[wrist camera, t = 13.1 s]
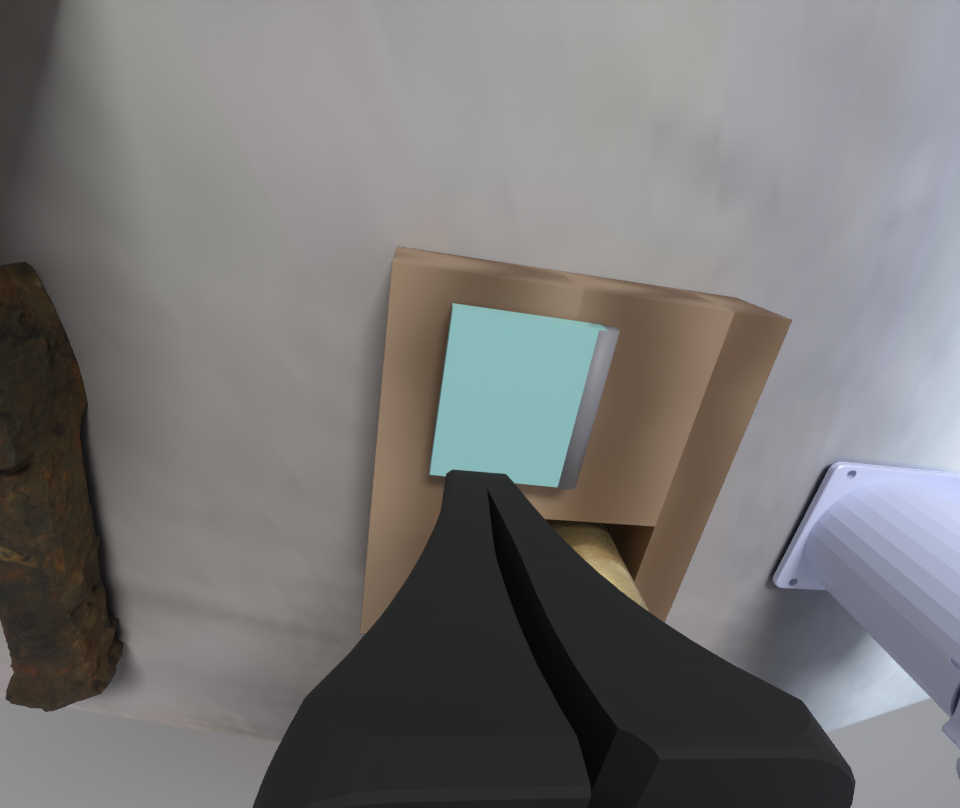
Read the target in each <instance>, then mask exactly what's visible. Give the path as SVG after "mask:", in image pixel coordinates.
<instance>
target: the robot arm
mask: <svg viewBox="0 0 960 808" xmlns="http://www.w3.org/2000/svg"><path fill="white" fill-rule="evenodd" d="M772 580H773V582H774V584H775V585H776V586H777V587H779V588H791V589H812V590H827V591H828V592H829V593H830V594H831V595H832V596H833V597H834V598H835V599H836V600H837V601H838V602H839V603H840V604H841V606H842V607H843V608H844V609H845V610H846V611H847V612H848V613H849V614H850V615H851V616H852V617H853V618H854V619H855V620H856V621H857V622H858V623H859V624H860V625H861V626H862V627H863V628H864V629H865V630H866V631H867V632H868V633H869V634H870V635H871V637H872V638H873V639H874V640H875V641H876V642H877V643H878V644H879V645H880V646H881V647H882V648H883V649H884V650H885V651H886V652H887V653H888V654H889V655H890V656H891V657H892V658H893V659H894V660H895V661H896V662H897V663H898V664H899V665H900V666H901V667H902V669H903V670H904V671H905V672H906V673H907V674H908V675H909V676H910V677H911V678H912V679H913V680H914V681H915V682H916V683H917V684H918V685H919V686H920V687H921V688H922V689H923V690H924V691H925V692H926V693H927V694H928V695H929V696H930V697H931V698H932V699H933V701H934V702H936V704H937V705H938V706H939V707H940V708H941V709H942V710H943V711H944V712H945V713H946V714H947V715H948V716H949V717H950V719H949V721H948V722H947V723H946V724H944V725H943V726H942V731H944V733H945V734H946V735H947V736H948V737H949V738H950V739H951V740H952V741H953V742H954V744H956V746H957V747H958V748H959V749H960V473H953V472H943V471H932V470H922V469H912V468H901V467H891V466H881V465H870V464H860V463H850V462H837V463H834V464H833V465H832V466H830V468H829V469H828V471H827V473H826V475H825V477H824V479H823V481H822V483H821V485H820V487H819V489H818V491H817V492H816V494H815V496H814V498H813V500H812V502H811V504H810V506H809V508H808V510H807V512H806V514H805V516H804V518H803V520H802V522H801V523H800V525H799V527H798V529H797V531H796V533H795V535H794V537H793V539H792V541H791V543H790V545H789V547H788V549H787V551H786V553H785V554H784V556H783V558H782V560H781V562H780V564H779V566H778V568H777V570H776V572H775V574H774V576H773V579H772ZM956 770H957V773H958V777H959V779H960V757H959V758H958V760H957V762H956ZM854 788H855V779H854V776H853V773H852V770H851V768H850V766H849V765H848V764H847V762H846V761H845V759H844V758H843V757H842V755H841V754H840V752H839V751H838V750H837V748H836V747H835V745H834V744H833V743H832V741H831V740H830V738H829V737H828V736H827V734H826V733H825V732H824V730H823V729H822V727H821V726H820V725H819V723H818V722H817V720H816V719H815V718H814V716H813V715H812V713H811V712H810V711H809V709H808V708H807V707H806V705H805V704H804V703H803V701H801V700H800V699H798V698H796V697H794V696H792V695H790V694H788V693H786V692H784V691H782V690H780V689H778V688H776V687H774V686H773V685H771V684H769V683H767V682H765V681H763V680H761V679H759V678H757V677H755V676H753V675H751V674H749V673H748V672H746V671H744V670H742V669H740V668H738V667H736V666H734V665H732V664H731V663H729V662H727V661H725V660H724V659H722V658H720V657H719V656H717V655H715V654H714V653H712V652H710V651H709V650H707V649H705V648H703V647H702V646H700V645H698V644H697V643H695V642H693V641H692V640H690V639H689V638H687V637H686V636H684V635H682V634H681V633H679V632H678V631H676V630H675V629H673V628H672V627H670V626H669V625H667V624H666V623H664V622H663V621H661V620H660V619H659V618H657V617H656V616H654V615H653V614H651V613H650V612H649V611H647V610H646V609H644V608H643V607H641V606H640V605H639V604H637V603H636V602H635V601H633V600H632V599H631V598H629V597H628V596H627V595H625V594H624V593H623V592H622V591H620V590H619V589H618V588H617V587H616V586H614V585H613V584H612V583H611V582H610V581H608V580H607V579H606V578H605V577H604V576H602V575H601V574H600V573H599V572H597V571H596V570H595V569H594V568H593V567H592V566H591V565H590V564H589V563H587V562H586V561H585V560H584V559H583V558H582V557H581V556H580V555H579V554H578V553H577V552H576V551H575V550H574V549H573V548H572V547H571V546H570V545H569V544H568V543H567V542H566V541H565V540H564V539H563V538H562V537H561V536H560V535H559V534H558V533H557V532H556V531H555V530H554V529H553V528H552V527H551V525H550V524H549V523H548V522H547V521H546V520H545V519H544V518H543V517H542V515H541V514H540V513H539V512H538V511H537V510H536V509H535V507H534V506H533V505H532V504H531V503H530V502H529V500H528V499H527V498H526V497H525V496H524V494H523V493H522V492H521V491H520V490H519V488H518V487H517V486H516V485H515V484H514V482H513V481H512V480H511V479H510V478H509V477H508V475H507V474H502V473H489V472H477V471H465V470H453V469H452V470H451V471H449V472H448V473H446V479H445V485H444V492H443V498H442V504H441V511H440V514H439V516H438V519H437V522H436V524H435V527H434V529H433V531H432V533H431V535H430V537H429V540H428V542H427V544H426V546H425V548H424V550H423V552H422V554H421V556H420V557H419V559H418V561H417V563H416V565H415V566H414V568H413V570H412V571H411V573H410V575H409V576H408V578H407V579H406V581H405V583H404V584H403V585H402V587H401V588H400V590H399V591H398V593H397V594H396V596H395V597H394V599H393V600H392V601H391V603H390V604H389V606H388V607H387V608H386V610H385V611H384V612H383V614H382V615H381V616H380V617H379V619H378V620H377V621H376V622H375V623H374V625H373V626H372V627H371V628H370V629H369V631H368V632H367V633H366V634H365V635H364V637H363V638H362V639H361V640H360V641H359V642H358V644H357V645H356V646H355V647H354V648H353V650H352V651H351V652H350V653H349V654H348V655H347V656H346V657H345V658H344V659H343V660H342V661H341V662H340V663H339V664H338V665H337V666H336V667H335V668H334V669H333V670H332V671H331V672H330V673H329V674H328V675H327V676H326V677H325V678H324V679H323V680H322V681H321V682H320V683H319V684H318V685H317V686H316V687H315V688H314V689H313V690H312V691H311V692H310V693H309V694H308V695H307V696H306V697H305V699H304V701H303V703H302V704H301V706H300V708H299V710H298V711H297V713H296V715H295V717H294V719H293V720H292V722H291V724H290V726H289V728H288V729H287V731H286V733H285V735H284V737H283V739H282V741H281V743H280V745H279V747H278V749H277V751H276V752H275V755H274V757H273V759H272V761H271V763H270V765H269V767H268V769H267V772H266V774H265V776H264V779H263V781H262V784H261V786H260V789H259V792H258V794H257V797H256V799H255V802H254V805H253V808H850V807H851V805H852V800H853V795H854Z"/></svg>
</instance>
